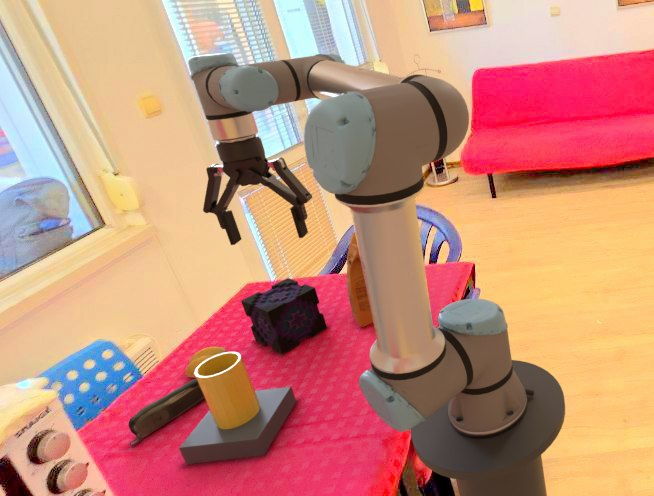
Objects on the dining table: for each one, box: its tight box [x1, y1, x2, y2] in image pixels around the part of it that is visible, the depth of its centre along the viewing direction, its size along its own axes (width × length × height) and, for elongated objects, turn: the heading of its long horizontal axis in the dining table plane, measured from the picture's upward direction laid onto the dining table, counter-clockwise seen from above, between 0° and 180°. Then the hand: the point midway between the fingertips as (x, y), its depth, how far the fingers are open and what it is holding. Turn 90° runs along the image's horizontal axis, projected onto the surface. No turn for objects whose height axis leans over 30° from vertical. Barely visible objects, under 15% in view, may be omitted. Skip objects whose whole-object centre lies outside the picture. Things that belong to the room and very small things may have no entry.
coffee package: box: [346, 232, 374, 328], centre depth 135 cm, size 10×12×22 cm
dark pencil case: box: [128, 378, 205, 447], centre depth 106 cm, size 5×3×15 cm
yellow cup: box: [194, 351, 260, 429], centre depth 98 cm, size 7×7×12 cm
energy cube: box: [240, 277, 328, 355], centre depth 130 cm, size 12×12×12 cm
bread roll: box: [184, 345, 228, 379], centre depth 122 cm, size 8×9×4 cm
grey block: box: [178, 386, 297, 465], centre depth 101 cm, size 14×14×4 cm
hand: (270, 238), depth 107 cm, fingers open, 13 cm apart
